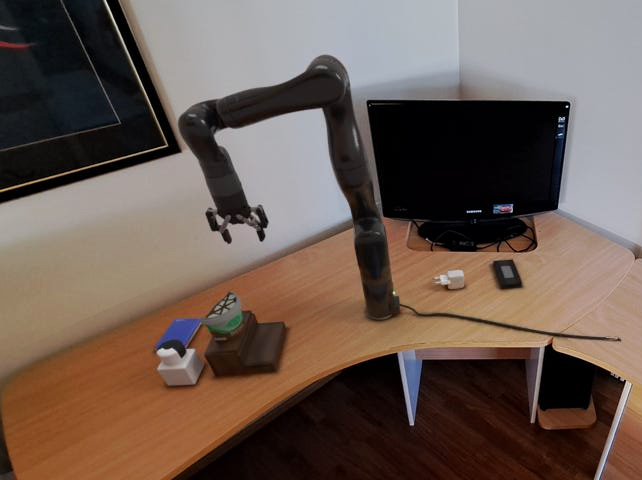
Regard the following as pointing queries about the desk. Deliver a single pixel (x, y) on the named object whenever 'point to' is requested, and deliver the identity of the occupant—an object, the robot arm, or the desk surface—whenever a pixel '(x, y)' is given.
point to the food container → (225, 319)
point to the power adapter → (451, 279)
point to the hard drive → (181, 331)
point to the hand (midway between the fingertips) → (246, 241)
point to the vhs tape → (507, 274)
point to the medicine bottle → (178, 363)
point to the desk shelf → (248, 349)
